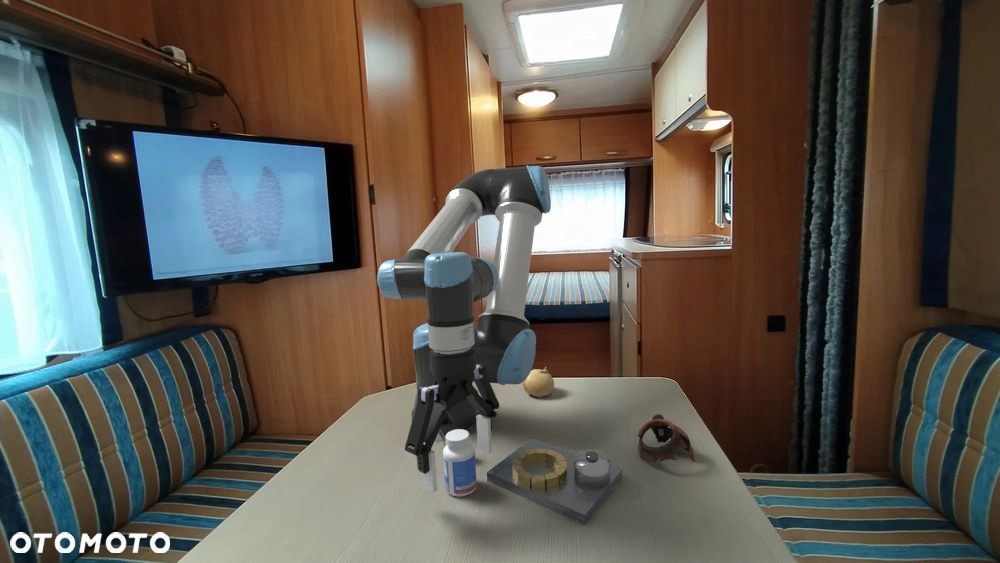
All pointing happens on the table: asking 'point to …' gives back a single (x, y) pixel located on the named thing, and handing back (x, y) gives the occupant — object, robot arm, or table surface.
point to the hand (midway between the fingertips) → (459, 468)
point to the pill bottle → (459, 463)
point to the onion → (539, 383)
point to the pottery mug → (663, 440)
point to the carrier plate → (559, 494)
